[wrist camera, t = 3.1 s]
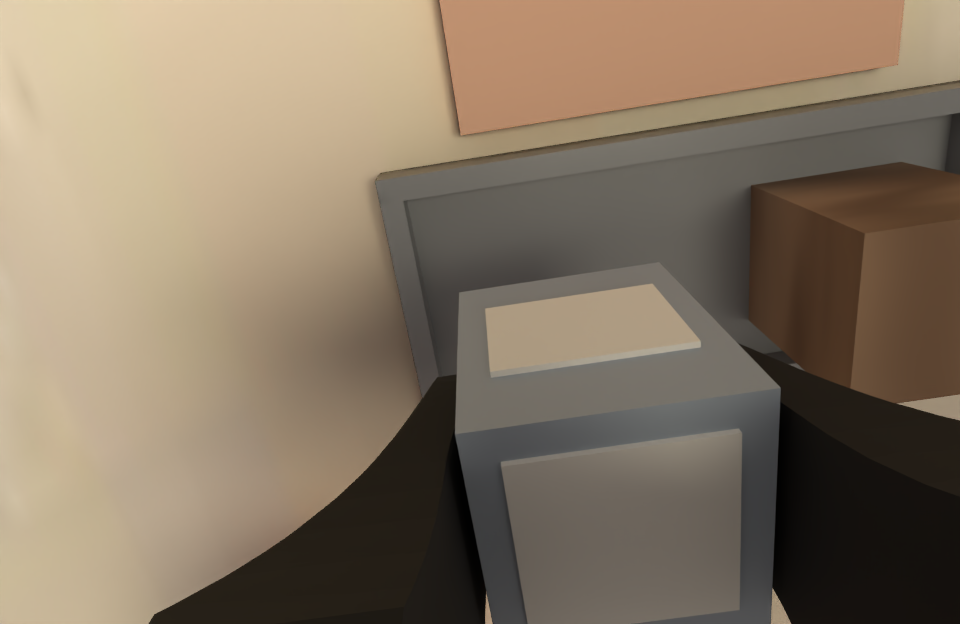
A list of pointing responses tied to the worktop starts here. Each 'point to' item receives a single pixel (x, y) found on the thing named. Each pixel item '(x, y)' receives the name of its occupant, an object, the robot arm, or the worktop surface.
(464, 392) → the labelled block
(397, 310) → the worktop surface
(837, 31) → the rubber mat
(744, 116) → the parts tray
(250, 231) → the worktop surface
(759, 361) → the robot arm
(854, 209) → the walnut block
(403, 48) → the worktop surface
